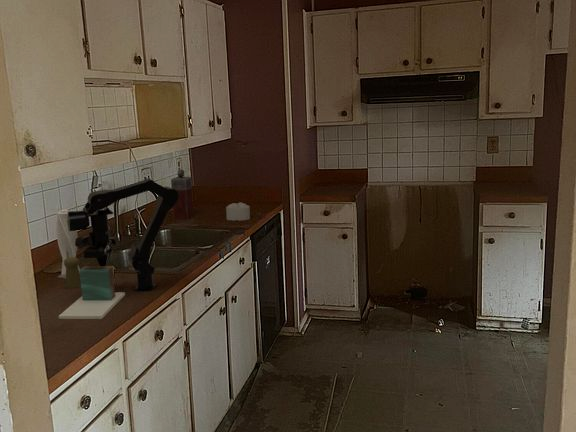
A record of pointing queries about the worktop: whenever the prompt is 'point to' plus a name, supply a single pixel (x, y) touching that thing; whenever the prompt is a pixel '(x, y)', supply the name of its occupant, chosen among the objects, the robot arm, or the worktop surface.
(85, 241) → the robot arm
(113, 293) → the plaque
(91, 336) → the worktop surface
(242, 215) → the lumpy-topped squat cylinder
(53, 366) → the worktop surface
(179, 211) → the square decanter
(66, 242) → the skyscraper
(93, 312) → the board
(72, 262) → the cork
